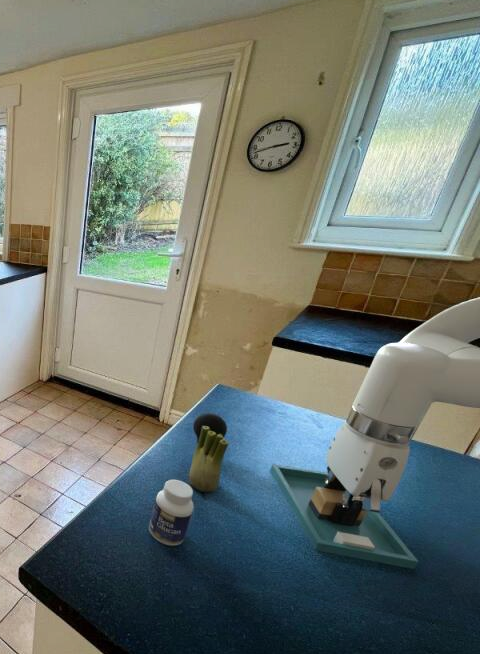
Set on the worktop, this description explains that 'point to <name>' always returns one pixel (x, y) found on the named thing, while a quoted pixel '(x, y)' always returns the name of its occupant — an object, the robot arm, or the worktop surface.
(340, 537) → the chalk
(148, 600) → the worktop surface
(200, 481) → the fennel bulb
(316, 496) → the eraser
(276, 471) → the tray
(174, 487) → the pill bottle
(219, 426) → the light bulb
